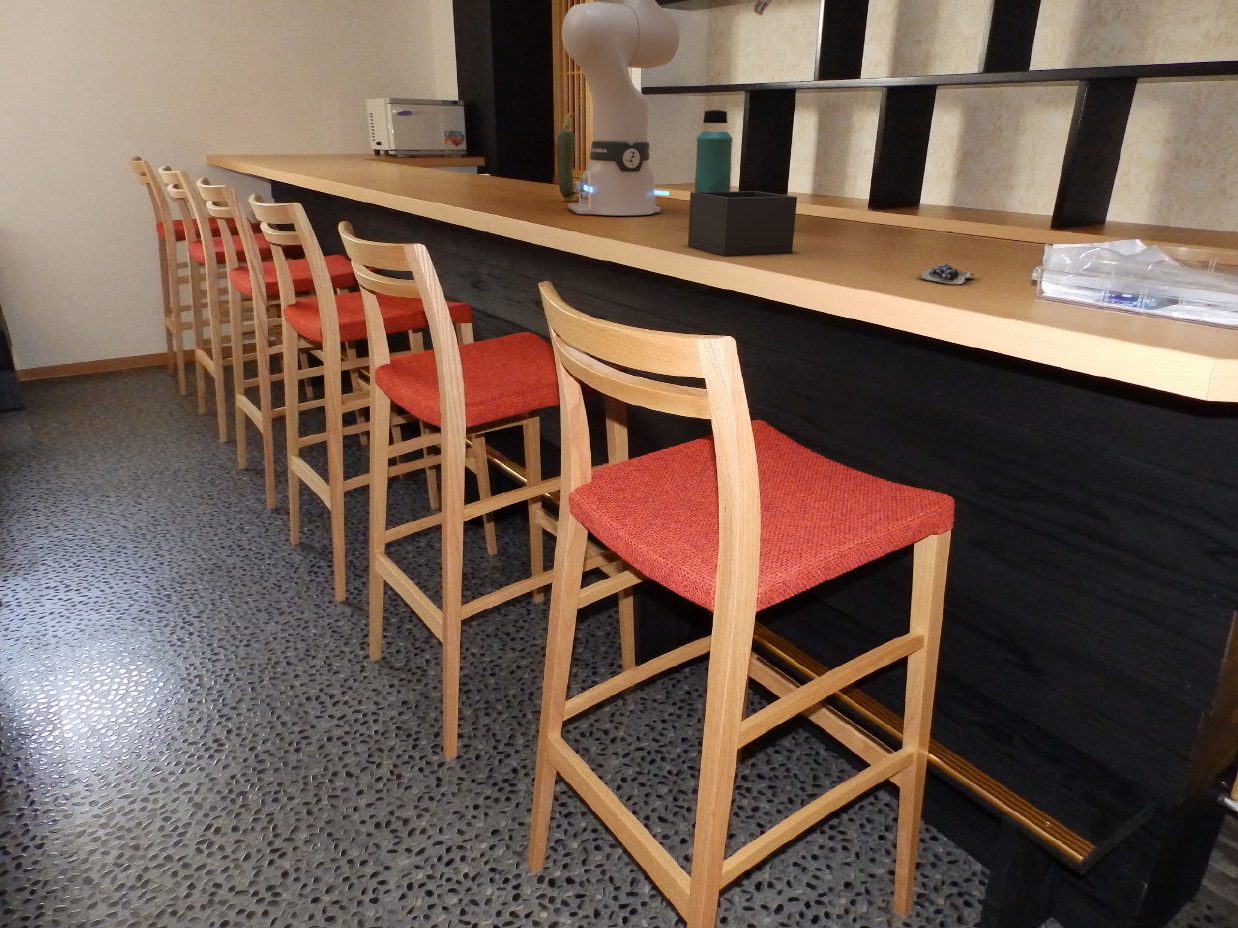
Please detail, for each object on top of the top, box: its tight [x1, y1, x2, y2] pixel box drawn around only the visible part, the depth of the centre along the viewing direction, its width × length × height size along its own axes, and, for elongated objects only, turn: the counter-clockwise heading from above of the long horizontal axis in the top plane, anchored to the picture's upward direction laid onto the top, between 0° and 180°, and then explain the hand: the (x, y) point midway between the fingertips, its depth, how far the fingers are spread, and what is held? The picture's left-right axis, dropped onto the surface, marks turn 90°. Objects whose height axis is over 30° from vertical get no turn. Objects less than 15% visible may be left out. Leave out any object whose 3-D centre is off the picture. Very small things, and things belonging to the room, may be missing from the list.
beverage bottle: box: [694, 109, 733, 192], centre depth 149 cm, size 6×7×20 cm
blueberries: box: [920, 263, 975, 285], centre depth 105 cm, size 7×8×2 cm
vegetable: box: [556, 111, 576, 202], centre depth 200 cm, size 4×4×20 cm
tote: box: [687, 190, 798, 257], centre depth 127 cm, size 12×12×8 cm
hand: (757, 2), depth 140 cm, fingers open, 8 cm apart
